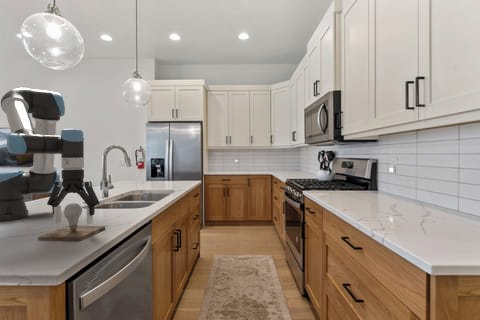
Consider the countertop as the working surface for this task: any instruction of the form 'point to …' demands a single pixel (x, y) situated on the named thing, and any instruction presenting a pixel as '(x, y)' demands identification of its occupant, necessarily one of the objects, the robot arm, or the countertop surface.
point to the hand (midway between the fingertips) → (73, 223)
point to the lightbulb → (73, 214)
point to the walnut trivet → (72, 233)
